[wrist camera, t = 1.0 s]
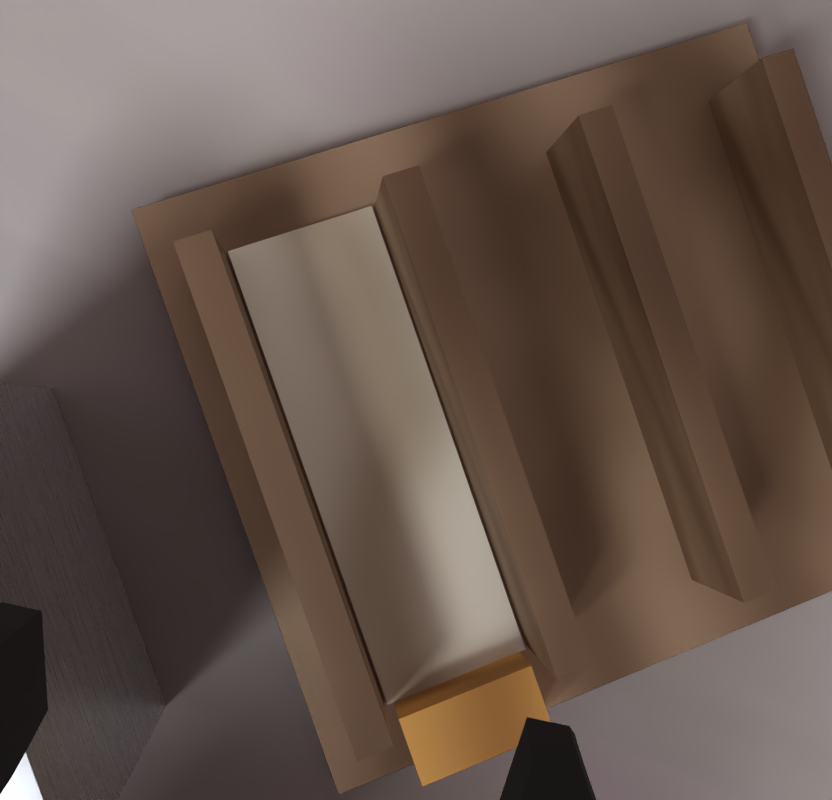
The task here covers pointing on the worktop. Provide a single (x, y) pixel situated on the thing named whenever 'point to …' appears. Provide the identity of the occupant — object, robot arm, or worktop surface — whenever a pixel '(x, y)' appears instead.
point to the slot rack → (520, 391)
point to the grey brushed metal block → (69, 612)
